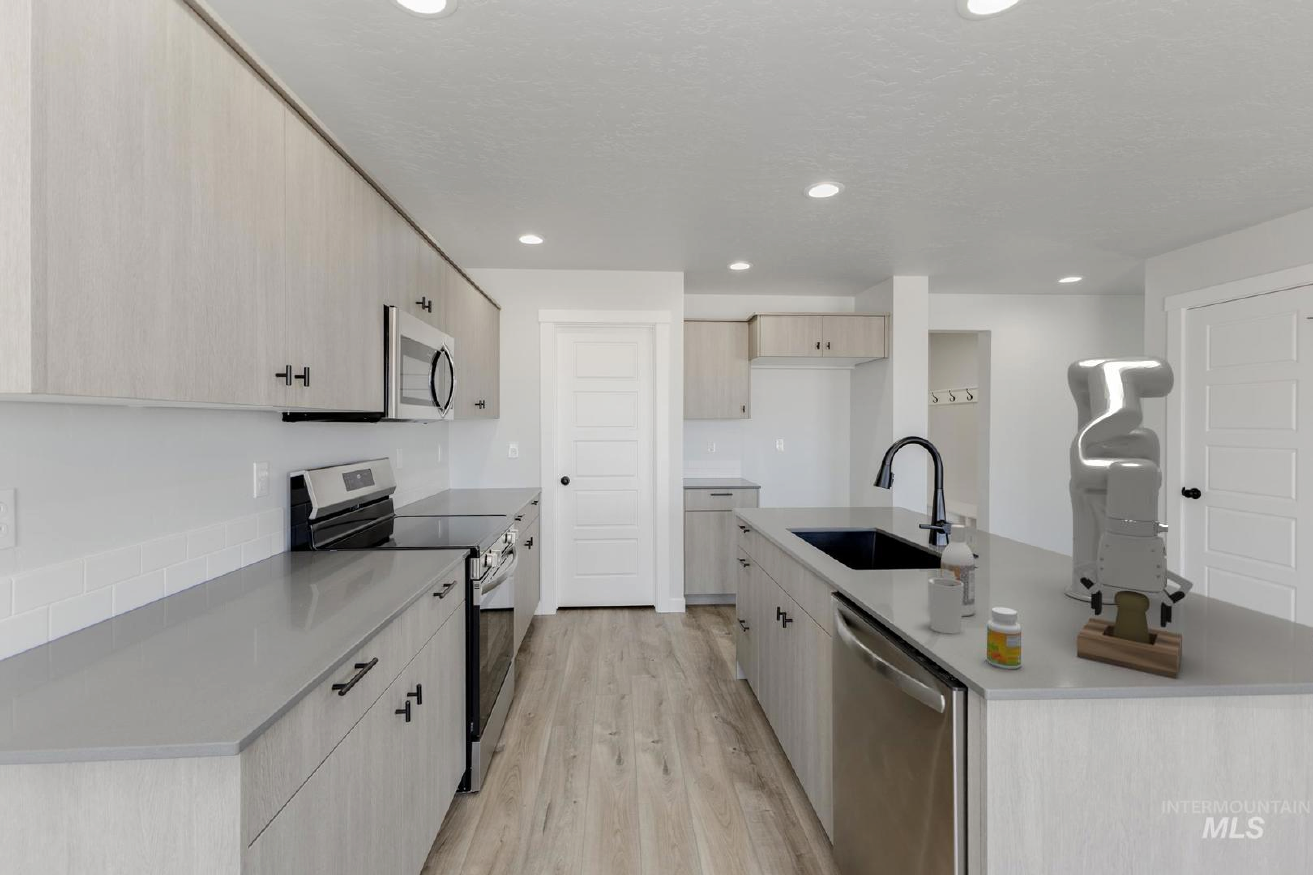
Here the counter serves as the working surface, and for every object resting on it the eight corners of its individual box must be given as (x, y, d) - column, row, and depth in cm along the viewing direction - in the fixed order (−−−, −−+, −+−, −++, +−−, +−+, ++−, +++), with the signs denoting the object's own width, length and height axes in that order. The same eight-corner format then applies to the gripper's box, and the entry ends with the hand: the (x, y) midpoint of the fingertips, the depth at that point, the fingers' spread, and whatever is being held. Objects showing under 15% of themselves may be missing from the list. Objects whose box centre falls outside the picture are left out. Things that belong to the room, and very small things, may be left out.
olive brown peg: (1159, 658, 108) (1160, 597, 108) (1121, 655, 110) (1122, 595, 109) (1139, 645, 114) (1140, 588, 114) (1104, 643, 116) (1104, 586, 115)
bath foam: (933, 609, 140) (934, 524, 140) (955, 605, 143) (956, 522, 143) (959, 618, 134) (959, 529, 134) (981, 614, 137) (982, 526, 136)
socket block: (1090, 637, 122) (1090, 617, 122) (1181, 655, 112) (1182, 634, 112) (1077, 656, 112) (1077, 635, 112) (1176, 678, 102) (1176, 655, 102)
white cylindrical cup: (945, 622, 131) (946, 576, 131) (970, 632, 125) (971, 584, 125) (921, 625, 129) (921, 579, 129) (945, 636, 123) (945, 587, 123)
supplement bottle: (980, 658, 111) (980, 606, 111) (1007, 657, 112) (1008, 605, 112) (999, 670, 106) (999, 615, 106) (1028, 669, 106) (1028, 614, 106)
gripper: (1194, 530, 108) (1193, 625, 109) (1078, 520, 120) (1077, 605, 121) (1192, 536, 103) (1190, 635, 103) (1071, 525, 115) (1070, 613, 115)
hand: (1129, 619), depth 112 cm, fingers open, 9 cm apart
